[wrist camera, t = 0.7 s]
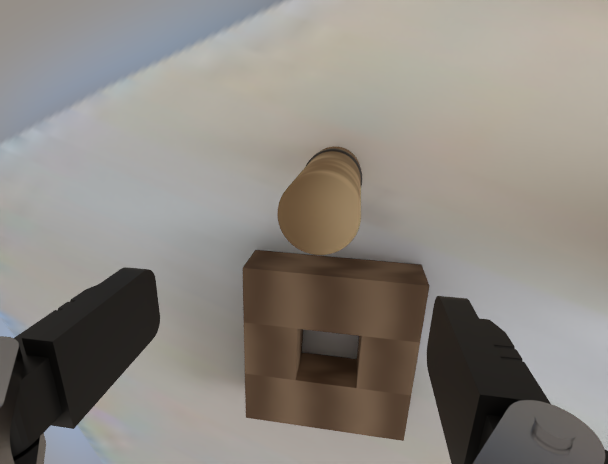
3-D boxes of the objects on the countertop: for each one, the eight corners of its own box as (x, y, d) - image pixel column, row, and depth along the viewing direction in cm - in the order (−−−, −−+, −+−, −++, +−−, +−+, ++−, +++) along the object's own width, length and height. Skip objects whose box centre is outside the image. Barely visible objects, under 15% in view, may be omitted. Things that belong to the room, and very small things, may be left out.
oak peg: (363, 144, 30) (366, 175, 17) (359, 194, 31) (359, 260, 18) (312, 141, 30) (276, 169, 17) (310, 191, 32) (275, 252, 19)
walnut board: (421, 264, 32) (429, 285, 29) (399, 407, 38) (403, 440, 34) (255, 250, 34) (242, 267, 30) (256, 387, 40) (245, 417, 36)
